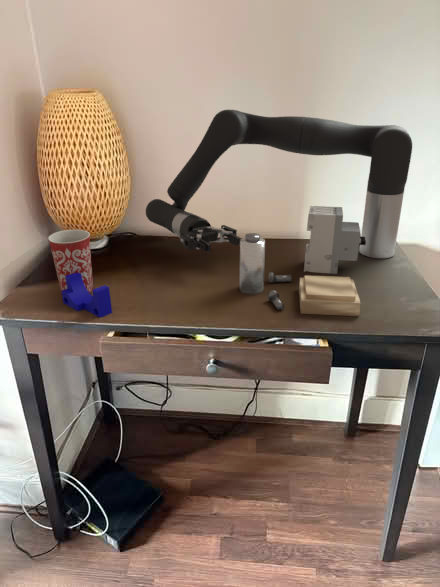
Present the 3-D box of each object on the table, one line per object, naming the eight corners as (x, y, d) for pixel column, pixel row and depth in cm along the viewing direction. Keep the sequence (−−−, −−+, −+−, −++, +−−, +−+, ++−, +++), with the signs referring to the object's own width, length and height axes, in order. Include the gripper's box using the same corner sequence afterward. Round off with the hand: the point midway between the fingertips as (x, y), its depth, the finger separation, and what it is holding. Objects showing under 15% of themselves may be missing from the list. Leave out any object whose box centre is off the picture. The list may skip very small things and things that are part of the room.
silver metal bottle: (240, 283, 114) (241, 231, 108) (263, 284, 113) (265, 231, 107) (238, 293, 109) (239, 239, 103) (263, 294, 108) (264, 239, 102)
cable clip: (63, 302, 105) (59, 278, 103) (81, 296, 108) (77, 272, 106) (94, 320, 98) (90, 294, 95) (112, 312, 101) (109, 287, 98)
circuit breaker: (362, 275, 117) (369, 216, 111) (303, 271, 120) (308, 213, 114) (360, 264, 124) (367, 208, 118) (305, 260, 127) (309, 205, 120)
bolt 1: (270, 284, 113) (270, 274, 112) (268, 279, 115) (269, 270, 114) (291, 283, 114) (292, 274, 113) (289, 279, 116) (290, 270, 115)
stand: (298, 289, 111) (300, 273, 109) (351, 291, 109) (353, 275, 107) (300, 313, 100) (301, 296, 98) (359, 316, 98) (361, 298, 97)
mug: (96, 297, 108) (88, 240, 102) (55, 300, 106) (45, 243, 101) (98, 275, 119) (92, 223, 113) (61, 278, 118) (52, 225, 112)
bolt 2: (267, 300, 105) (267, 290, 104) (277, 299, 106) (278, 289, 105) (275, 311, 101) (275, 301, 100) (285, 309, 101) (286, 299, 100)
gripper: (166, 219, 123) (198, 235, 111) (213, 210, 130) (248, 225, 118) (168, 246, 126) (199, 265, 114) (213, 236, 133) (247, 253, 121)
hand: (224, 245), depth 116 cm, fingers open, 8 cm apart
